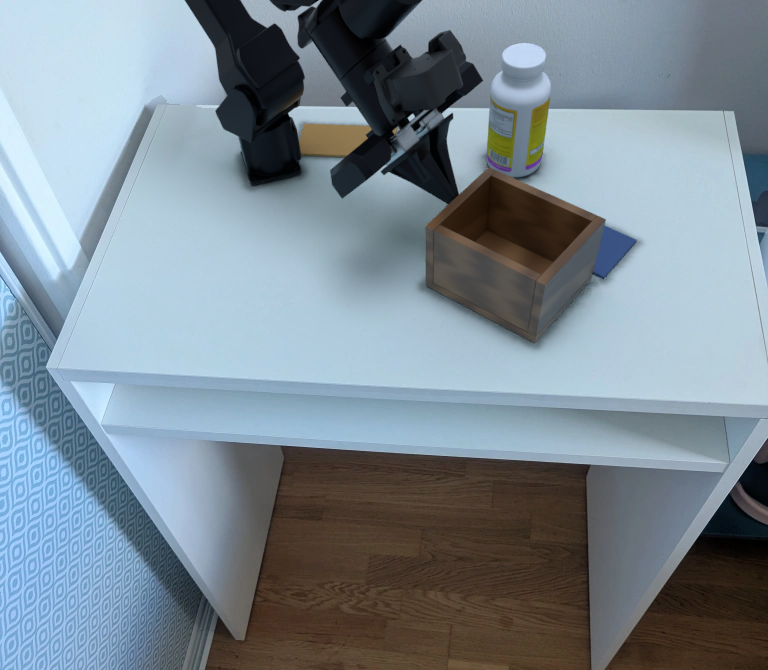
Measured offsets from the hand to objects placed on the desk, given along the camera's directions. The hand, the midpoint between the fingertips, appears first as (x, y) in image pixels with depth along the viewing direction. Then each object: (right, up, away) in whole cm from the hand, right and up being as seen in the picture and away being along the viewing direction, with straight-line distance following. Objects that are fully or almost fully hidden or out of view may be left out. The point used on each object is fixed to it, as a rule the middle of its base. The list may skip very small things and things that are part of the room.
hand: (455, 202), depth 78 cm
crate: (+6, -7, +4) cm, 10 cm away
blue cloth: (+14, -1, +7) cm, 15 cm away
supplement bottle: (+8, +10, +14) cm, 19 cm away
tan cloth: (-12, +15, +17) cm, 26 cm away
